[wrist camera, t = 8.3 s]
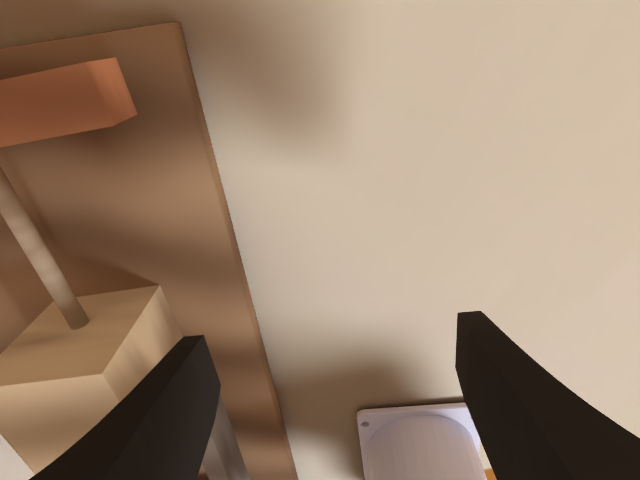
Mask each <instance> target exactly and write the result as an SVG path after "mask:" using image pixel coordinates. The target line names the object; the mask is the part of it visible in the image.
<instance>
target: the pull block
mask: <svg viewBox="0 0 640 480" xmlns="http://www.w3.org/2000/svg"><path fill="white" fill-rule="evenodd" d="M135 115H137V111H136V108H135V106H134V103H133V101H132V98H131V95H130V93H129V90H128V88H127V85H126V82H125V80H124V77H123V75H122V72H121V69H120V67H119V64H118V62H117V59H116V57H115V58H109V59H103V60H96V61H90V62H84V63H79V64H74V65H70V66H65V67H60V68H56V69H51V70H46V71H41V72H37V73H32V74H27V75H22V76H18V77H13V78H8V79H3V80H0V148H1V147H6V146H11V145H16V144H22V143H27V142H32V141H37V140H42V139H48V138H53V137H58V136H63V135H69V134H74V133H79V132H84V131H90V130H95V129H100V128H105V127H110V126H114V125H116V124H118V123H120V122H122V121H125V120H127V119H129V118H131V117H133V116H135ZM0 213H1V215H2V216H3V218H4V220H5V221H6V223H7V225H8V226H9V228H10V229H11V231H12V233H13V234H14V236H15V238H16V239H17V241H18V243H19V244H20V246H21V247H22V249H23V251H24V252H25V254H26V256H27V257H28V259H29V261H30V262H31V264H32V265H33V267H34V269H35V270H36V272H37V274H38V275H39V277H40V279H41V280H42V282H43V283H44V285H45V287H46V288H47V290H48V292H49V293H50V295H51V297H52V298H53V300H54V301H53V302H52V303H51V304H50V305H49V306H48V307H47V308H46V309H45V310H44V311H43V312H42V313H41V314H40V315H39V316H38V317H37V318H36V319H35V320H34V321H33V322H32V323H31V324H30V325H29V326H28V327H27V328H26V329H25V330H24V331H23V332H22V333H21V334H20V335H19V336H18V337H17V338H16V339H15V340H14V341H13V342H12V343H11V344H10V345H9V346H8V347H7V348H6V349H5V350H4V351H3V352H2V353H1V354H0V434H1V435H2V436H3V437H4V438H5V440H6V441H7V442H8V443H9V444H10V445H11V447H12V448H13V449H14V450H15V451H16V452H17V454H18V455H19V456H20V457H21V458H22V460H23V461H24V462H25V463H26V464H27V465H28V467H29V468H30V469H31V470H32V471H33V472H34V474H35V475H36V474H37V473H38V472H40V471H41V470H42V469H44V468H45V467H46V466H48V465H49V464H50V463H52V462H53V461H54V460H55V459H57V458H58V457H59V456H60V455H62V454H63V453H64V452H65V451H66V450H67V449H69V448H70V447H71V446H72V445H73V444H75V443H76V442H77V441H78V440H79V439H81V438H82V437H83V436H84V435H85V434H86V433H87V432H89V431H90V430H91V429H92V428H93V427H94V426H95V425H96V424H97V423H99V422H100V421H101V420H102V419H103V418H104V417H105V416H106V415H107V414H108V413H109V412H110V411H111V410H112V409H113V408H114V407H115V406H116V405H117V404H118V403H119V402H120V401H121V400H122V399H124V398H125V397H126V396H127V395H128V394H129V393H130V392H131V391H132V390H133V389H134V388H135V387H136V385H137V384H138V383H139V382H140V381H141V380H142V379H143V378H144V377H145V376H146V375H147V374H148V373H149V372H150V371H151V370H152V369H153V368H154V367H155V366H156V365H157V364H158V363H159V361H160V360H161V359H162V358H163V357H164V356H165V355H166V354H167V353H168V352H169V351H170V350H171V349H172V348H173V347H174V346H175V345H176V343H177V342H178V341H179V340H180V339H182V338H183V336H182V333H181V331H180V329H179V327H178V324H177V322H176V320H175V318H174V315H173V313H172V311H171V309H170V306H169V304H168V302H167V300H166V298H165V295H164V293H163V291H162V289H161V286H160V285H157V286H150V287H143V288H136V289H129V290H122V291H115V292H108V293H101V294H94V295H87V296H81V297H76V296H75V294H74V293H73V291H72V289H71V288H70V286H69V284H68V282H67V281H66V279H65V277H64V275H63V274H62V272H61V270H60V268H59V267H58V265H57V263H56V261H55V260H54V258H53V256H52V255H51V253H50V251H49V249H48V248H47V246H46V244H45V242H44V241H43V239H42V237H41V235H40V234H39V232H38V230H37V229H36V227H35V225H34V223H33V222H32V220H31V218H30V216H29V215H28V213H27V211H26V209H25V208H24V206H23V204H22V202H21V201H20V199H19V197H18V196H17V194H16V192H15V190H14V189H13V187H12V185H11V183H10V182H9V180H8V178H7V176H6V175H5V173H4V171H3V170H2V168H1V166H0Z"/></svg>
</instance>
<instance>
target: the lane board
mask: <svg viewBox="0 0 640 480" xmlns="http://www.w3.org/2000/svg"><path fill="white" fill-rule="evenodd" d="M115 57H116V59H117V62H118V64H119V67H120V69H121V72H122V75H123V77H124V80H125V82H126V85H127V88H128V90H129V93H130V95H131V98H132V101H133V103H134V106H135V108H136V111H137V115H135V116H133V117H131V118H129V119H127V120H125V121H122V122H120V123H118V124H116V125H114V126H110V127H105V128H100V129H95V130H90V131H84V132H79V133H74V134H69V135H63V136H58V137H53V138H48V139H42V140H37V141H32V142H27V143H22V144H16V145H11V146H6V147H1V148H0V166H1V168H2V170H3V171H4V173H5V175H6V176H7V178H8V180H9V182H10V183H11V185H12V187H13V189H14V190H15V192H16V194H17V196H18V197H19V199H20V201H21V202H22V204H23V206H24V208H25V209H26V211H27V213H28V215H29V216H30V218H31V220H32V222H33V223H34V225H35V227H36V229H37V230H38V232H39V234H40V235H41V237H42V239H43V241H44V242H45V244H46V246H47V248H48V249H49V251H50V253H51V255H52V256H53V258H54V260H55V261H56V263H57V265H58V267H59V268H60V270H61V272H62V274H63V275H64V277H65V279H66V281H67V282H68V284H69V286H70V288H71V289H72V291H73V293H74V294H75V296H76V297H81V296H87V295H94V294H101V293H108V292H115V291H122V290H129V289H136V288H143V287H150V286H157V285H160V286H161V289H162V291H163V293H164V295H165V298H166V300H167V302H168V304H169V306H170V309H171V311H172V313H173V315H174V318H175V320H176V322H177V324H178V327H179V329H180V331H181V333H182V336H183V337H184V336H195V335H204V337H205V340H206V343H207V346H208V348H209V351H210V354H211V357H212V360H213V363H214V366H215V369H216V372H217V374H218V377H219V380H220V383H221V389H220V395H219V401H218V407H217V412H216V417H215V421H214V425H213V428H212V431H211V435H210V438H209V441H208V445H207V448H206V451H205V454H204V457H203V461H202V464H201V467H200V470H199V473H198V477H197V480H298V476H297V473H296V469H295V465H294V461H293V457H292V453H291V449H290V446H289V442H288V438H287V434H286V430H285V426H284V422H283V418H282V415H281V411H280V407H279V403H278V399H277V395H276V391H275V388H274V384H273V380H272V376H271V372H270V368H269V364H268V361H267V357H266V353H265V349H264V345H263V341H262V337H261V333H260V330H259V326H258V322H257V318H256V314H255V310H254V306H253V303H252V299H251V295H250V291H249V287H248V283H247V279H246V276H245V272H244V268H243V264H242V260H241V256H240V252H239V249H238V245H237V241H236V237H235V233H234V229H233V225H232V221H231V218H230V214H229V210H228V206H227V202H226V198H225V194H224V191H223V187H222V183H221V179H220V175H219V171H218V167H217V164H216V160H215V156H214V152H213V148H212V144H211V140H210V136H209V133H208V129H207V125H206V121H205V117H204V113H203V109H202V106H201V102H200V98H199V94H198V90H197V86H196V82H195V79H194V75H193V71H192V67H191V63H190V59H189V55H188V51H187V48H186V44H185V40H184V36H183V32H182V28H181V24H180V22H169V23H163V24H156V25H150V26H143V27H137V28H130V29H123V30H117V31H110V32H104V33H97V34H91V35H84V36H77V37H71V38H64V39H58V40H51V41H45V42H38V43H31V44H25V45H18V46H12V47H5V48H0V80H3V79H8V78H13V77H18V76H22V75H27V74H32V73H37V72H41V71H46V70H51V69H56V68H60V67H65V66H70V65H74V64H79V63H84V62H90V61H96V60H103V59H109V58H115ZM53 301H54V300H53V298H52V297H51V295H50V293H49V292H48V290H47V288H46V287H45V285H44V283H43V282H42V280H41V279H40V277H39V275H38V274H37V272H36V270H35V269H34V267H33V265H32V264H31V262H30V261H29V259H28V257H27V256H26V254H25V252H24V251H23V249H22V247H21V246H20V244H19V243H18V241H17V239H16V238H15V236H14V234H13V233H12V231H11V229H10V228H9V226H8V225H7V223H6V221H5V220H4V218H3V216H2V215H1V213H0V354H1V353H2V352H3V351H4V350H5V349H6V348H7V347H8V346H9V345H10V344H11V343H12V342H13V341H14V340H15V339H16V338H17V337H18V336H19V335H20V334H21V333H22V332H23V331H24V330H25V329H26V328H27V327H28V326H29V325H30V324H31V323H32V322H33V321H34V320H35V319H36V318H37V317H38V316H39V315H40V314H41V313H42V312H43V311H44V310H45V309H46V308H47V307H48V306H49V305H50V304H51V303H52V302H53Z"/></svg>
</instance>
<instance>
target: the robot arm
mask: <svg viewBox="0 0 640 480" xmlns="http://www.w3.org/2000/svg"><path fill="white" fill-rule="evenodd" d="M455 368H456V371H457V375H458V379H459V382H460V386H461V389H462V393H463V396H464V400H465V403H450V404H435V405H421V406H406V407H391V408H377V409H363V410H360V411H358V413H357V424H358V431H359V439H360V447H361V455H362V463H363V470H364V478H365V480H487V478H486V475H485V472H484V469H483V466H482V463H481V461H480V458H479V449H480V440H481V442H482V445H483V447H484V450H485V452H486V454H487V457H488V459H489V462H490V464H491V467H492V469H493V471H494V474H495V476H496V479H497V480H640V438H638V437H637V436H635V435H634V434H632V433H631V432H629V431H627V430H626V429H624V428H623V427H621V426H620V425H618V424H617V423H615V422H614V421H613V420H611V419H610V418H608V417H607V416H605V415H604V414H602V413H601V412H599V411H598V410H597V409H595V408H594V407H592V406H591V405H589V404H588V403H587V402H585V401H584V400H583V399H581V398H580V397H579V396H577V395H576V394H575V393H573V392H572V391H571V390H570V389H568V388H567V387H566V386H565V385H563V384H562V383H561V382H560V381H558V380H557V379H556V378H555V377H553V376H552V375H551V374H550V373H549V372H547V371H546V370H545V369H544V368H543V367H541V366H540V365H539V364H538V363H537V362H536V361H535V360H533V359H532V358H531V357H530V356H529V355H528V354H526V353H525V352H524V351H523V350H522V349H521V348H520V347H519V346H518V345H516V344H515V343H514V342H513V341H512V340H511V339H510V338H509V337H508V336H507V335H506V334H505V333H504V332H503V331H501V330H500V329H499V328H498V327H497V326H496V325H495V324H494V323H493V322H492V321H491V320H490V319H489V318H488V317H487V316H486V315H485V314H484V313H482V312H481V311H473V312H462V313H458V317H457V341H456V365H455ZM220 389H221V383H220V380H219V377H218V374H217V372H216V369H215V366H214V363H213V360H212V357H211V354H210V351H209V348H208V346H207V343H206V340H205V337H204V335H195V336H184V337H183V338H182V339H180V340H179V341H178V342H177V343H176V345H175V346H174V347H173V348H172V349H171V350H170V351H169V352H168V353H167V354H166V355H165V356H164V357H163V358H162V359H161V360H160V361H159V363H158V364H157V365H156V366H155V367H154V368H153V369H152V370H151V371H150V372H149V373H148V374H147V375H146V376H145V377H144V378H143V379H142V380H141V381H140V382H139V383H138V384H137V385H136V387H135V388H134V389H133V390H132V391H131V392H130V393H129V394H128V395H127V396H126V397H125V398H124V399H122V400H121V401H120V402H119V403H118V404H117V405H116V406H115V407H114V408H113V409H112V410H111V411H110V412H109V413H108V414H107V415H106V416H105V417H104V418H103V419H102V420H101V421H100V422H99V423H97V424H96V425H95V426H94V427H93V428H92V429H91V430H90V431H89V432H87V433H86V434H85V435H84V436H83V437H82V438H81V439H79V440H78V441H77V442H76V443H75V444H73V445H72V446H71V447H70V448H69V449H67V450H66V451H65V452H64V453H63V454H62V455H60V456H59V457H58V458H57V459H55V460H54V461H53V462H52V463H50V464H49V465H48V466H46V467H45V468H44V469H42V470H41V471H40V472H38V473H37V474H36V475H34V476H33V477H32V478H30V479H29V480H197V477H198V473H199V470H200V467H201V464H202V461H203V457H204V454H205V451H206V448H207V445H208V441H209V438H210V435H211V431H212V428H213V425H214V421H215V417H216V412H217V407H218V401H219V395H220Z"/></svg>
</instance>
